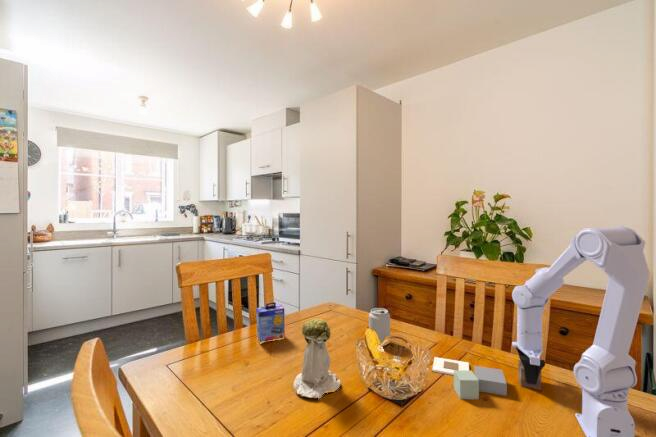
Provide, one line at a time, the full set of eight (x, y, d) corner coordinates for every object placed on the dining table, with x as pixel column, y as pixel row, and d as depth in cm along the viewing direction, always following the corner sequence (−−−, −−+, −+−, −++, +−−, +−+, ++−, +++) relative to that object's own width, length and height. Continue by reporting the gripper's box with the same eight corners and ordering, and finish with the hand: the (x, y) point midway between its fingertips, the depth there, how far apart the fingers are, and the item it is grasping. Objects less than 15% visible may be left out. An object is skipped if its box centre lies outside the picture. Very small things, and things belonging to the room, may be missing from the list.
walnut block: (541, 389, 82) (541, 371, 81) (520, 386, 83) (521, 368, 83) (537, 380, 86) (537, 362, 86) (518, 377, 88) (518, 360, 87)
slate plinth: (506, 397, 79) (506, 383, 79) (476, 391, 82) (476, 378, 82) (502, 382, 86) (502, 369, 86) (474, 377, 89) (474, 365, 88)
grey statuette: (285, 385, 87) (283, 320, 86) (322, 369, 95) (321, 310, 94) (308, 406, 77) (306, 334, 77) (347, 386, 85) (346, 321, 84)
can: (390, 348, 107) (389, 314, 106) (368, 347, 108) (368, 313, 108) (390, 339, 114) (390, 307, 114) (370, 338, 116) (369, 306, 115)
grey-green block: (478, 399, 78) (478, 380, 78) (460, 399, 79) (460, 380, 78) (471, 388, 83) (471, 370, 83) (453, 388, 83) (453, 370, 83)
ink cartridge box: (259, 345, 112) (258, 305, 111) (256, 339, 117) (255, 301, 116) (285, 339, 116) (284, 301, 115) (281, 334, 121) (280, 297, 120)
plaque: (469, 378, 88) (469, 375, 88) (432, 371, 92) (432, 368, 92) (468, 364, 95) (468, 361, 95) (434, 358, 99) (434, 356, 99)
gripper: (508, 318, 92) (508, 362, 93) (516, 338, 79) (516, 389, 79) (536, 321, 89) (536, 367, 90) (550, 342, 76) (549, 396, 77)
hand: (529, 378), depth 85 cm, fingers closed on walnut block, 5 cm apart
